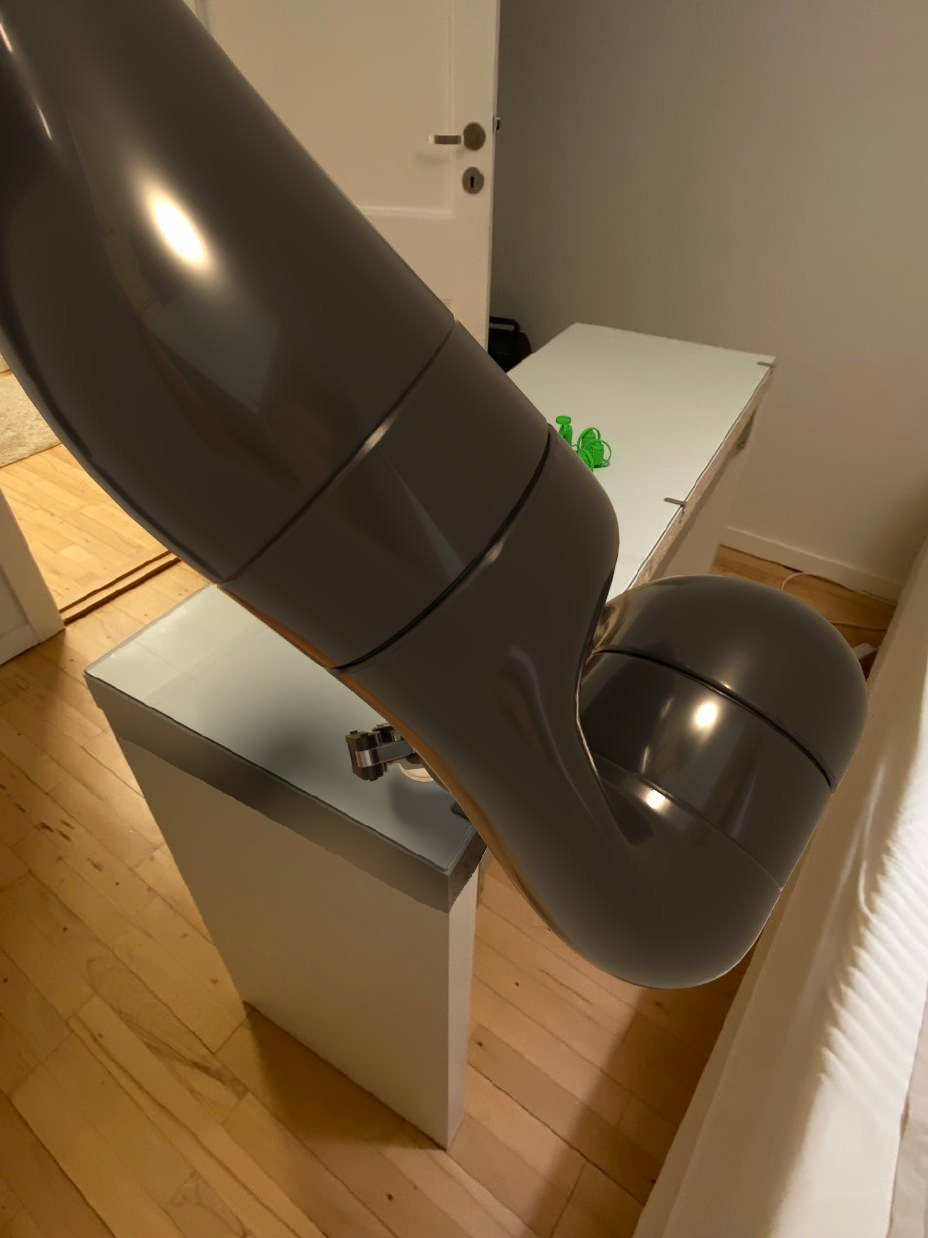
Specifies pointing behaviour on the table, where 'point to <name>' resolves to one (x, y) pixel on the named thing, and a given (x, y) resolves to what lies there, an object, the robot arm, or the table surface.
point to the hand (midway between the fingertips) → (440, 724)
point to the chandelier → (584, 443)
